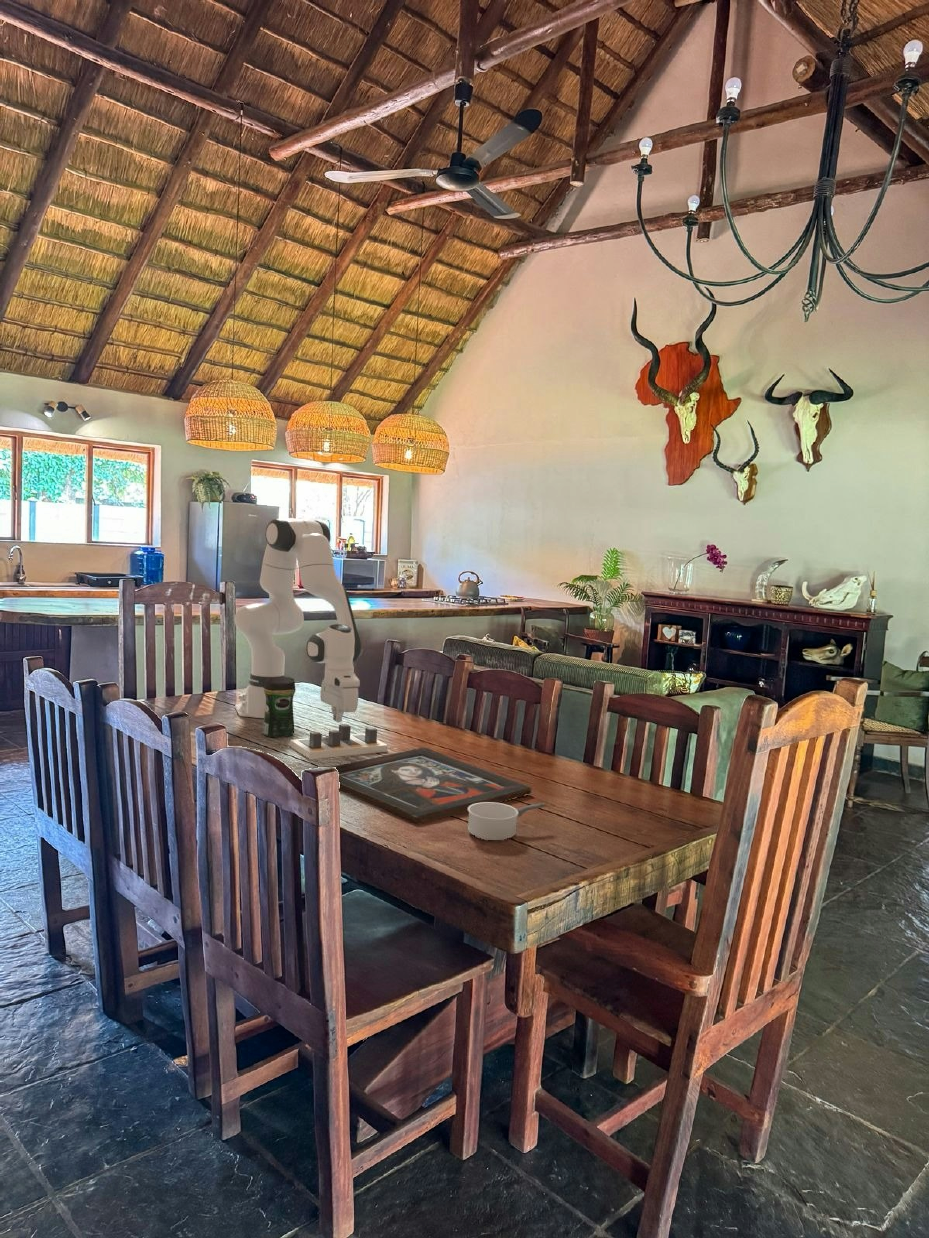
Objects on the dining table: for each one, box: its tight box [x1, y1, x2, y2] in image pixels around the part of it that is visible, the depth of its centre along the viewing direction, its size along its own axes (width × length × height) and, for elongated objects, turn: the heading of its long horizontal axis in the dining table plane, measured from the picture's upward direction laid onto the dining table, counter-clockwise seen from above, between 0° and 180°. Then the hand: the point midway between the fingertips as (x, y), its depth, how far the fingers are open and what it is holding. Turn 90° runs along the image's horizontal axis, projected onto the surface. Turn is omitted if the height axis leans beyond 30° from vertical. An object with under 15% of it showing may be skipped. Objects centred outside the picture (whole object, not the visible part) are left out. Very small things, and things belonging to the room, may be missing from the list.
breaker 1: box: [309, 731, 323, 748], centre depth 236 cm, size 3×2×4 cm
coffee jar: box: [262, 676, 296, 738], centre depth 255 cm, size 10×8×19 cm
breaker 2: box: [328, 729, 341, 747], centre depth 240 cm, size 3×2×4 cm
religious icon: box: [331, 747, 532, 825], centre depth 214 cm, size 40×45×3 cm
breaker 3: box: [338, 723, 352, 740], centre depth 248 cm, size 3×2×4 cm
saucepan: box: [467, 802, 547, 841], centre depth 184 cm, size 12×20×6 cm, turn 120°
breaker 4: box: [364, 727, 378, 743], centre depth 246 cm, size 3×2×4 cm
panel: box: [289, 733, 389, 760], centre depth 244 cm, size 15×25×2 cm, turn 123°
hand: (337, 721), depth 253 cm, fingers closed
